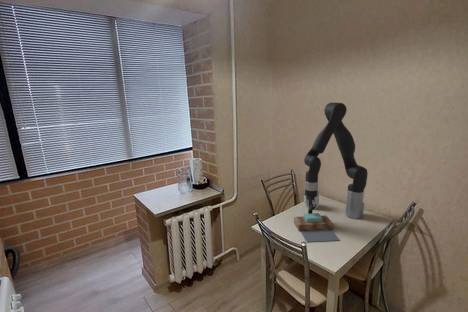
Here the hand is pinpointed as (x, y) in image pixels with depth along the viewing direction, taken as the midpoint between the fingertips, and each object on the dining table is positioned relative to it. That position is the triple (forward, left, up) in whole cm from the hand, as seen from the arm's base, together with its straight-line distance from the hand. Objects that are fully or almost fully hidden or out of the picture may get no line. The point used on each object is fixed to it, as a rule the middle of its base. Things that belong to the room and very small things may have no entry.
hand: (310, 214), depth 153 cm
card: (0, +5, -1) cm, 5 cm away
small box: (-8, -21, -5) cm, 23 cm away
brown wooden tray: (0, +5, -5) cm, 7 cm away
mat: (0, +16, -5) cm, 17 cm away
